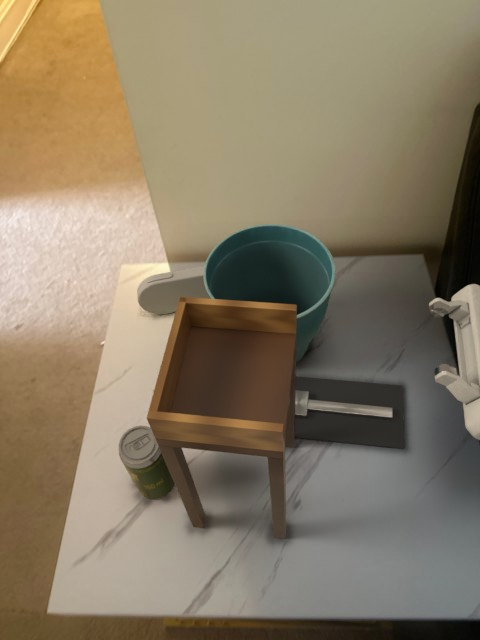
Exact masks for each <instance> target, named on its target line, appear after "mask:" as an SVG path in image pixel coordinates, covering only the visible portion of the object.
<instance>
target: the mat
mask: <svg viewBox="0 0 480 640" xmlns="http://www.w3.org/2000/svg"><path fill="white" fill-rule="evenodd" d="M296 390H299V391H309V397H308V399H309V400H319V401H329V402H339V403H349V404H359V405H369V406H379V407H389V408H393V418H392V420H387V419H377V418H367V417H358V416H348V415H338V414H329V413H319V412H309V411H307V418H306V419H304V418H295V439H300V440H301V439H302V440H311V441H321V442H329V443H331V442H332V443H340V444H350V445H360V446H369V447H377V448H378V447H379V448H387V449H389V448H390V449H398V450H405V426H404V425H405V424H404V423H405V422H404V395H403V394H404V391H403V390H404V389H403V385H398V384H389V383H378V382H376V383H375V382H368V381H367V382H366V381H355V380H343V379H331V378H319V377H310V376H298V375H296Z"/></svg>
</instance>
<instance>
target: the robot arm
mask: <svg viewBox="0 0 480 640" xmlns="http://www.w3.org/2000/svg"><path fill="white" fill-rule="evenodd" d="M450 299H451V300H450V301H447V300H445V299H443V298H441V297H436V298H434V299H432V300H430V302H429V303H428V310H429V311H428V312H429V315H430V316H432V317H433V316H434V318H436V319H438V320H441V319H442V318H444V316H445V315H448V317H449V319H452V320H453V329H454V337H455V347H456V355H457V365H458V369H457V368H456V367H454V366H450V365H449V364H447V363H441V364H439V366H437V367H435V368H434V373H433V374H434V382H435V383H438V384H440V385H442V386H445V388H446V389H447V390H448V391H449V392H450V393H451V395H452V396H454V398H455V399H456V400H457V401H458V402H461V403H462V409H463V418H464V426H465V428H466V430H467V432H468V433H469V434H470V435H471V436H472V437H473V438H474V439H476V440H477V441H480V285H479V284H476V283H471V284H468V285H465V286H464V287H463V288H461V289H460V290H458V291H457V292H456V293H454V294H453V295H452V296H451V298H450ZM457 370H458V372H457ZM458 373H459V374H458Z"/></svg>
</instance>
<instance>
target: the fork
mask: <svg viewBox="0 0 480 640" xmlns="http://www.w3.org/2000/svg"><path fill="white" fill-rule="evenodd" d="M308 397H309V391H299V390H296V400H295V418H304V419H306V418H307V411H309V412H319V413H329V414H338V415H348V416H358V417H367V418H377V419H387V420H392V418H393V408H389V407H379V406H369V405H359V404H349V403H339V402H329V401H319V400H309V399H308Z"/></svg>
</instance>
